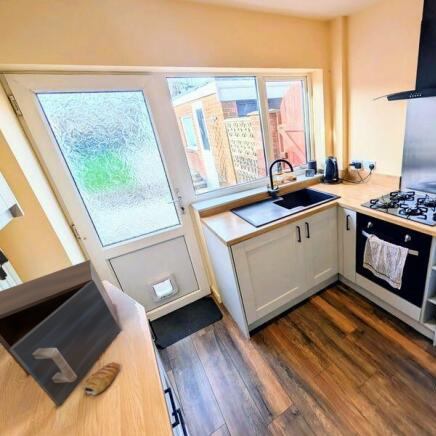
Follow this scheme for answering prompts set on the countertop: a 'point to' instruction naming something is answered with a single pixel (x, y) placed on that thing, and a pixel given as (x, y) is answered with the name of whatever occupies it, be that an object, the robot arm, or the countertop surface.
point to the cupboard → (42, 301)
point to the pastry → (101, 379)
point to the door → (67, 342)
